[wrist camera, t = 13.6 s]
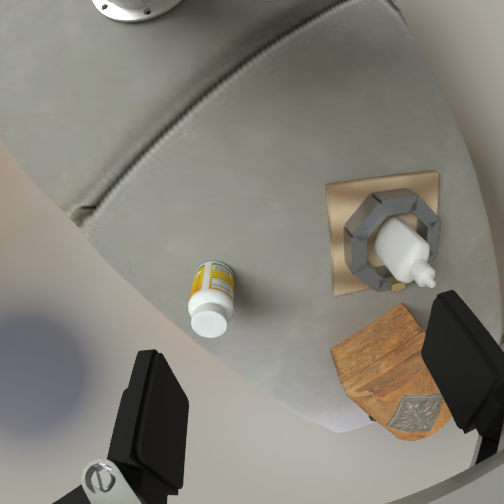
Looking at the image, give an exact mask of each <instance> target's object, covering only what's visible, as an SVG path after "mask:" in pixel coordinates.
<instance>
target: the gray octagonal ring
mask: <svg viewBox="0 0 504 504" xmlns="http://www.w3.org/2000/svg"><path fill="white" fill-rule="evenodd" d="M371 195H372V196H371ZM371 195H370V194H369V195H368V196H367V197H366V198H365V200H364V201H363V202H362V203H361V205H360V206H359V207H358V208H357V210H356V211H355V212H354V213H353V214H352V216H351V217H350V218H349V219H348V221H347V222H346V223H345V224H344V225H345V226H346V227H343V233H344V259H345V263H346V265H347V266H348V268H349V270H350V271H351V273H352V275H353V276H355V277H356V278H358V279H359V280H361V281H362V282H363V283H365V284H366V285H368V286H369V287H371V288H372V289H374V290H375V291H379V292H380V291H385V290H389V289H390V290H391V292H394V291H398V290H402V289H405V285H409V284H410V283H411V282H412V283H413V282H414V280H413V281H411V282H410V283H403V282H400V281H398V280H397V279H396V278H395V277H394V276H393V275H392V273H391V272H390V271H389V269H388V268H387V267H386V266H385V265H383V266H378V267H375V266H374V265H372V264H371V263H370V262H368V261H367V260H366V259H367V239H368V237H369V236H370V235H371V234H372V233H373V231H374V230H375V229H376V228H377V227H378V225H379V224H380V223H381V222H382V221H383V219H384V218H385V217H386V216H389V215H395V214H401V213H406V212H411V213H412V214H413V215H414V216H415V217H416V218H417V229H416V232H417V233H418V234H419V235H420V236H421V237H422V238H423V239H424V240H425V241H426V242H427V243H428V244H429V248H430V250H429V258H428V261H427V263H428V264H430V262H431V261H432V260H433V259H434V258H435V257H436V256H435V254H437V248H438V240H439V231H440V220H439V219H440V218H439V217H438V216H437V215H436V214H435V213H434V211H433V210H432V209H431V208H430V207H429V206H428V205H427V204H426V203H425V202H424V201H423V199H422V198H421V197H420V196H418V195H417V194H416V193H414V192H413V191H411V190H410V189H407V188H399V189H392V190H385V191H379V192H372V193H371Z"/></svg>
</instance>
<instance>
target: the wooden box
mask: <svg viewBox="0 0 504 504" xmlns="http://www.w3.org/2000/svg"><path fill="white" fill-rule="evenodd" d="M425 335H426V333H425V332H424V331H423V330H422V328H421V327H420V326H419V324H418V323H417V322H416V320H415V319H414V317H413V316H412V315H411V313H410V312H409V311H408V309H407V308H406V307H405V306H404V304H403V303H401V304H400V305H398V306H397V307H395V308H394V309H392V310H391V311H389V312H388V313H386V314H385V315H384V316H382V317H381V318H379V319H378V320H376V321H375V322H373V323H372V324H370V325H369V326H367V327H366V328H364V329H362V330H361V331H359V332H358V333H356V334H355V335H353V336H352V337H350V338H348V339H347V340H345V341H344V342H342V343H340V344H339V345H337V346H336V347H334V348H332V349H331V355H332V358H333V361H334V364H335V367H336V370H337V373H338V376H339V379H340V382H341V384H342V385H343V387H344V390H345V392H346V395H347V396H348V397H349V398H351V399H352V400H353V401H354V402H355V403H357V404H358V405H359V406H360V407H361V408H362V409H363V410H364V411H365V412H366V413H367V414H369V418H370V420H371V421H377V422H378V423H380V424H381V425H382V426H383V427H385V428H386V429H387V430H389V431H390V432H391V433H393V434H394V435H395V436H396V437H397V438H399V439H401V440H407V441H415V440H420V439H423V438H425V437H427V436H429V435H431V434H433V433H435V432H436V431H438V430H439V429H440V428H442V427H443V426H444V425H445V424H446V423H447V422H448V420H449V419H450V418H451V416H452V414H451V412H450V410H449V408H448V406H447V404H446V402H445V400H444V398H443V397H442V395H441V393H440V391H439V389H438V387H437V385H436V383H435V381H434V379H433V378H432V376H431V374H430V372H429V370H428V368H427V367H426V365H425V363H424V361H423V359H422V356H421V350H422V346H423V342H424V339H425Z"/></svg>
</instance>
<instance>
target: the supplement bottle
mask: <svg viewBox="0 0 504 504" xmlns="http://www.w3.org/2000/svg"><path fill="white" fill-rule="evenodd" d="M188 310H189V313H190V315H191V317H192V320H191V325H192V328H193V330H194V331H195V332H196V333H197V334H199V335H201V336H203V337H207V338H214V337H218V336H220V335H222V334H223V333H224V332H225V331H226V329H227V324H228V321H229V320H230V318H231V317H232V315H233V311H234V276H233V273H232V271H231V269H230V268H229V267H228V266H226V265H225V264H223V263H221V262H217V261H210V262H206V263H204V264H202V265H201V266H200V267H199V268H198V269H197V270H196V272H195V274H194V279H193V284H192V289H191V294H190V299H189V304H188Z"/></svg>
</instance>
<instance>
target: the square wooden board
mask: <svg viewBox="0 0 504 504" xmlns="http://www.w3.org/2000/svg"><path fill="white" fill-rule="evenodd" d="M399 188H407V189H410V190H411V191H413V192H414V193H416V194H417V195H418V196H420V197H421V198H422V199H423V201H424V202H425V203H426V204H427V205H428V206H429V207H430V208H431V209H432V210H433V211H434V213H435V214H436V215H437V207H438V188H439V172H437V171H435V170H432V171H422V172H413V173H405V174H396V175H388V176H380V177H373V178H365V179H358V180H351V181H344V182H338V183H331V184H326V193H327V204H328V215H329V228H330V243H331V259H332V280H333V292H334V295H335V296H337V295H342V294H347V293H351V292H356V291H360V290H365V289H369V288H371V287H369V286H368V285H366V284H365V283H363V282H362V281H361V280H359V279H358V278H356V277H355V276H353V275H352V273H351V271H350V270H349V268H348V266H347V265H346V263H345V259H344V233H343V227H346V226H345V225H344V224H345V223H346V222H347V221H348V219H349V218H350V217H351V216H352V214H353V213H354V212H355V211H356V210H357V208H358V207H359V206H360V205H361V203H362V202H363V201H364V200H365V198H366V197H367V196H368V195H369V194H370V195H371V193H372V192H379V191H385V190H392V189H399ZM371 196H372V195H371ZM392 216H395V217H398V218H400V219H402V220H403V221H405V222H406V223H407V224H408V225H409V226H410V227H411V228H412V229H413V230H415V231H416V229H417V218H416V217H415V216H414V215H413V214H412V213H411V212H406V213H401V214H395V215H389V216H386V217H385V218H384V219H383V221H382V222H381V223H380V224H379V225H378V227H377V228H376V229H375V230H374V231H373V233H372V234H371V235H370V236H369V237H368V239H367V259H366V260H367V261H368V262H370V263H371V264H372V265H374V266H375V267H378V266H383V265H385V264H384V263H383V262H382V260H381V259H380V258H379V256H378V255H377V254H376V253H375V250H374V244H375V239H376V236H377V234H378V232H379V230H380V228H381V227H382V225H383V224H384V223H385V222H386V220H387V219H389V218H390V217H392ZM429 265H430V266H431V265H432V261H431V262H430V264H429Z"/></svg>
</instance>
